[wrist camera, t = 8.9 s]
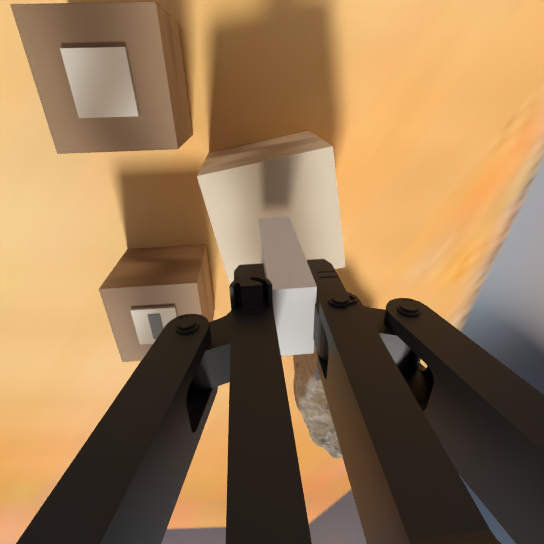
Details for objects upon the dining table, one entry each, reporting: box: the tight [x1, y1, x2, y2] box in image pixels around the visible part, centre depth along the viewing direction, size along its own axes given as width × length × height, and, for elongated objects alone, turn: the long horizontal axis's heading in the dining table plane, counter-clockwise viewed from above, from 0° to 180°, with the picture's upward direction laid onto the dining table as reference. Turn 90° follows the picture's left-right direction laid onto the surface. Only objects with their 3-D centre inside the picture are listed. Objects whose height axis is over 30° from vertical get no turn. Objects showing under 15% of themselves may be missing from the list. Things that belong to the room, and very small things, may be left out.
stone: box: [294, 343, 343, 458], centre depth 31 cm, size 7×12×7 cm, turn 26°
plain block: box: [197, 130, 345, 284], centre depth 22 cm, size 7×7×7 cm
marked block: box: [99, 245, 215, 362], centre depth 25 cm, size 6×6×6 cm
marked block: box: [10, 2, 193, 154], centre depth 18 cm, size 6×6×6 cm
